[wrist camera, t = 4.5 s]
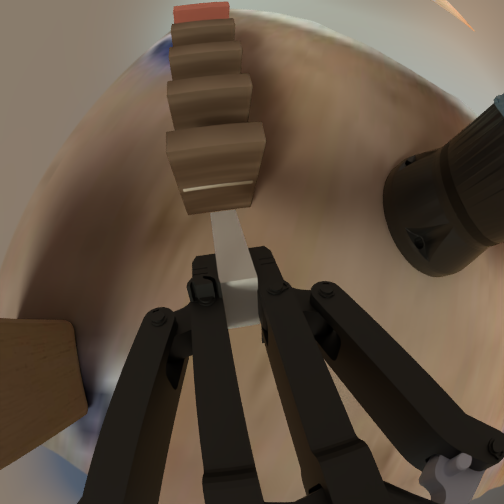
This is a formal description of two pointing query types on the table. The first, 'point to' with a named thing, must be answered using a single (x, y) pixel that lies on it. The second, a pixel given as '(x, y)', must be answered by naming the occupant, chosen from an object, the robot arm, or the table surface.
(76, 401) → the wooden block
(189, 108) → the tile
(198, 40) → the tile
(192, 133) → the tile
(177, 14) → the end tile
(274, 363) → the robot arm
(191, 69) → the tile
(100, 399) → the table surface
